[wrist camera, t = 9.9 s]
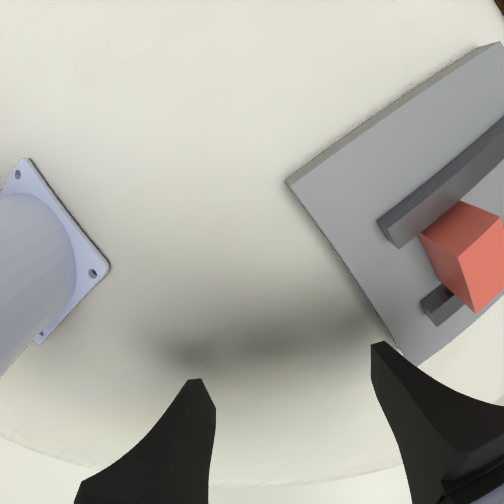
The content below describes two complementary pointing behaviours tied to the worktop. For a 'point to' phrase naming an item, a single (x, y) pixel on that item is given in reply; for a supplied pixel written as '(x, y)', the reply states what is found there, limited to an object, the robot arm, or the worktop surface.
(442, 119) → the panel
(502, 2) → the hand tool
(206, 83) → the worktop surface
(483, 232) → the lever
